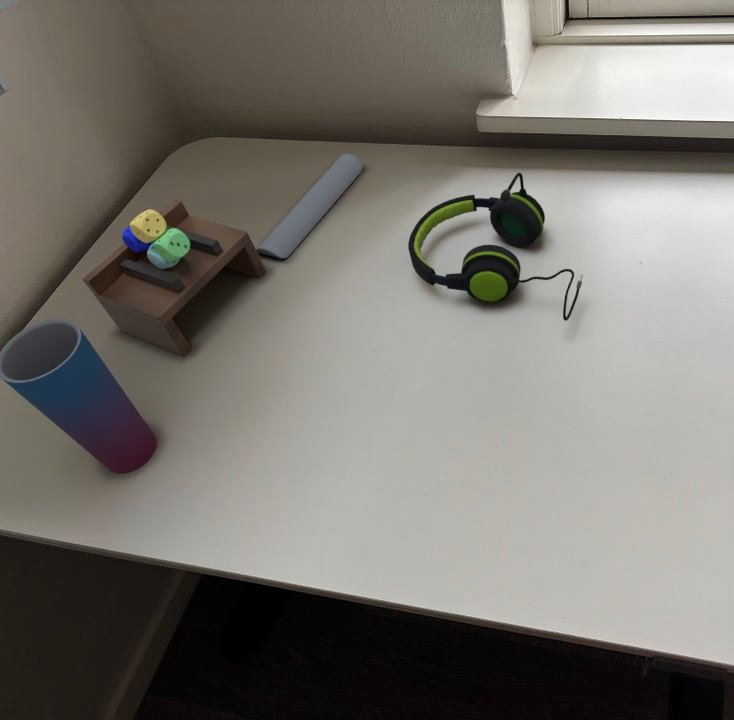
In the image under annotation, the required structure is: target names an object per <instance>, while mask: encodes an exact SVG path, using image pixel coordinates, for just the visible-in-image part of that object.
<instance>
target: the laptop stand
mask: <svg viewBox="0 0 734 720" xmlns="http://www.w3.org/2000/svg"><path fill="white" fill-rule="evenodd" d="M158 213H159V214H160V215H161V216H162V217H163V218H164V220H165V221H166V224H167V229H166V231H167V230H169V229H172V228H176V229H178V230H180V231H182V232H183V233H184V234H185V235H186V236H187V237H188V239H189V241H190V249H189V251H188V252H187V253H186V254H185V255H184V256H183V257H182V258H180V260H179V262H178V263H177V264H176V265H175V266H173V267H171V268H168V269H160V268H158V267H156V266H155V265H154V264H153V263H151V261H150V260H149V259H148V257H147V252H148V249H149V248H147V249H145V250H143V251H141V252H135V251H133V250H131V249H130V248H129V247H128V246H127V245H126V244H125V243H124V242H123V243H122V244H121V245H120V246H119V247H118V248H117V249H116V250H115V251H113V252H112V253H111V254H110V255H109V256H107V257H106V258H105V259H104V260H103V261H102V262H100V263H99V264H98V265H97V266H95V268H93V269H92V270H91V271H90V272H89V273H88V274H86V275H85V276H84V277H83V278H82V279H81V280H82V281H83V283H84V284H85V285H86V287H87V288H88V289H89V291H90V292H91V293H92V294H93V295H94V297H95V298H96V300H97V301H98V302H99V304H100V305H101V306H102V307H103V309H104V310H105V312H106V313H107V314H108V316H110V318H111V320H112V321H113V322H114V323H115V325H116V326H117V327H118V329H119V330H120V331H121V332H123V333H125V334H128V335H130V336H132V337H135V338H138V339H140V340H143V341H145V342H148V343H150V344H153V345H156V346H158V347H159V348H162V349H165V350H167V351H170V352H173V353H175V354H178V355H180V356H183V357H186V356H187V355H188V353H189V352H190V351H192V347H191V345H190V344H189V342H188V341H187V339H186V338H185V336H184V334H183V333H182V332H181V330H180V328H179V326H178V325H177V324H176V323H175V321H174V319H173V318H174V316H175V315H176V314H178V312H180V310H181V309H183V308H184V306H186V305H187V304H188V303H189V302H190V301H191V300H192V299H193V298H194V297H195V296H196V295H197V294H198V293H199V292H200V291H201V290H202V289H203V288H204V287H205V286H206V285H207V284H208V283H209V282H210V281H211V280H212V279H213V278H214V277H215V276H216V275H217V274H218V273H220V271H221V270H223V269H224V268H228V269H230V270H234V271H237V272H240V273H242V274H247V275H249V276H253V277H256V278H258V279H261V278H262V277H263V276H264V275H265V274H266V273H267V270H266V267H265V266H264V263H263V262H262V259H261V258H260V256H259V253H257V251H256V249H257V248H256V247H255V245H254V243H253V241H252V239H251V237H250V234H249V233H248V231H244V230H241V229H238V228H234V227H231V226H229V225H228V226H227V225H224V224H221V223H217V222H214V221H210V220H207V219H204V218H200V217H197V216H194V215H190V214H189V212H188V210H187V209H186V206H185V204H184V203H183V201H182V200H179V199H174V200H173V201H171V203H169V204H167V206H165V208H163V209H162V210H161V211H160V212H158Z"/></svg>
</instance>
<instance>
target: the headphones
mask: <svg viewBox="0 0 734 720" xmlns="http://www.w3.org/2000/svg"><path fill="white" fill-rule="evenodd" d="M518 178H519V183H520V189H519V191H514V192H511V190H512V188H513V187H514V185H515V183H516V182H517V180H518ZM478 208H484V209H485V208H486V209H487V210H488V211H489V221H490V224H491V226H492V228H493V230H494V231H495V232H496V234H497V235H498V236H499V237H500V238H501V239H503V241H505V242H506V243H508V244H510V245H511V246H515V247H519V248H528V247H531V246H533V245H534V244H535V243H536V242H537V240H538V239H539V238H540V236H541V235H542V234H543V231H544V227H545V226H544V224H545V221H546V216H545V211H544V209H543V207H542V205H541V204H540V202H538V200H537V199H536V198H535V197H533V196H532V195H530V194H528V193H527V189H526V188H525V187H524V177H523V174H522V172H517V173H516V174H515V175H514V177H513V179H512V180H511V182H510V183H509V185H508V187H507V188H506V189H504V190H503V191H502V192H501V193H500V197H495V196H494V197H493V196H489V198H485V197H477V198H476V195H475V194H469V195H463V196H458V197H454V198H451V199H448V200H446V201H444V202H441V203H439V204H437V205H436V206H433V207H432V208H430V209H429V210H428V211H427V212H425V214H424V215H422V217H420V219H419V220H418V222H417V223H416V224H415V226H414V227H413V229H412V231H411V233H410V235H409V238H408V244H407V246H408V253H409V257H410V261H411V265H412V267H413V269H414V272H415V273H416V274H417V275H418V276H419V278H420V279H422V280H423V281H424V282H425V283H426V284H428V285H430V286H434V285H436V284H437V285H440V286H442V287H446V289H448V290H454V291H462V292H466V293H467V294H468V295H469V297H471V298H472V299H474V300H476V301H477V302H480V303H484V304H496V303H500V302H504V301H505V300H507V299H508V298H509V297H510V296H511V294H512V293H513V292H514V291H515V290H516V289H517V287H518V286H519V284H525V283H529V282H531V281H533V280H541V281H549V280H552V279H555V278H556V277H558V276H559V275H560V274H562V273H563V274H564V273H566V272H569V273H570V275H571V277H570V280H569V283H568V285H567V288H566V290H565V295H564V300H563V308H562V318H563V321H565V322H567V321H568V320H569V319H570V318H571V315H572V313H573V311H574V308H575V306H576V304H577V303H576V302H577V300H578V298H579V294H580V289H581V287H582V284H583V281H582V280H583V277H584V274H583V273H581V275H580V277H579V280H577V283H576V287H575V288H576V291H575V295H574V297H573V300H572V303H571V306H570V309H569V311H568V313H567V303H568V295H569V292H570V289H571V286H572V283H573V281H574V278H575V272H574V270H572V269H570V268H564V269H560V270H559V271H557V272H556V273H555V274H553V275H551V276H546V277H545V276H531V277H529V278H527V279H521V278H520V277H521V271H522V267H521V262H520V261H519V258H518V257H517V256H516V255H515V253H514V252H512V251H511V250H509V249H508V248H505V247H504V246H501V245H496V244H482V245H478V246H476V247H473V248H472V249H471V250H469V251H468V252H467V253H466V254H465V256H464V258H463V260H462V265H461V271H460V272H458V273H456V272H455V273H446V274H445V275H439V274H437V273H436V271H435V269H434V268H433V267H432V266H431V265H429V264H428V262H427V261H426V260H425V259H424V257H423V255H422V248H423V244H424V242H425V241H426V239H427V237H428V235H429V234H430V233H431V232H432V230H433V229H434V228H436V227H437V226H438V225H440V224H442V223H444V222H445V221H447V220H450V219H454V218H455V217H457V216H461V215H464V214H468V213H473V212H477V211H478V210H477V209H478ZM566 313H567V315H566Z"/></svg>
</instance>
